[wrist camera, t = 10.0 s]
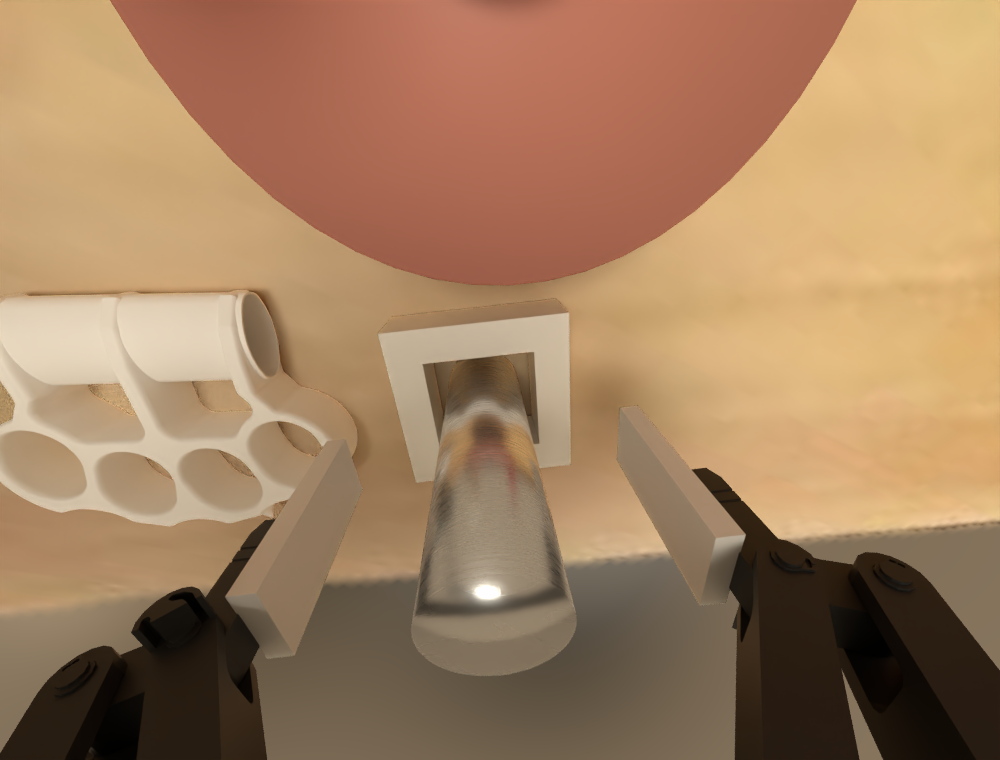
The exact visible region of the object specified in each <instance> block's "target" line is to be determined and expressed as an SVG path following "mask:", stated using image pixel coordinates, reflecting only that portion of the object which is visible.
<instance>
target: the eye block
mask: <svg viewBox="0 0 1000 760" xmlns="http://www.w3.org/2000/svg"><path fill="white" fill-rule="evenodd" d="M378 337H379V341H380V345H381V348H382V352H383V356H384V360H385V364H386V368H387V372H388V376H389V380H390V384H391V387H392V391H393V395H394V399H395V403H396V407H397V411H398V415H399V419H400V422H401V426H402V430H403V434H404V438H405V442H406V446H407V450H408V454H409V457H410V461H411V465H412V469H413V473H414V477H415V481H416V483H419V482H428V481H434V478H435V472H436V466H437V459H438V453H439V446H440V440H441V434H442V427H443V421H444V416H443V410H442V405H441V400H440V395H439V390H438V384H437V379H436V374H435V369H434V364H433V363H437V362H446V361H455V360H464V359H473V358H482V357H490V356H499V355H508V354H517V353H526V352H528V366H529V381H530V396H531V411H532V416H527V419H528V423H529V427H530V431H531V435H532V439H533V444H534V448H535V452H536V456H537V460H538V464H539V468H548V467H556V466H565V465H571V433H570V345H569V312H568V311H567V310H566V309H565V308H564V307H563V306H562V304H561V303H560V302H559V301H558V300H557V299H548V300H539V301H530V302H521V303H512V304H503V305H494V306H485V307H476V308H467V309H458V310H449V311H440V312H431V313H422V314H412V315H403V316H394V317H391V318H390V319H389V321H388V322H387V323H386V324H385V326H384V327H383V328H382V329H381V331H380V332H379V333H378Z"/></svg>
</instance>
